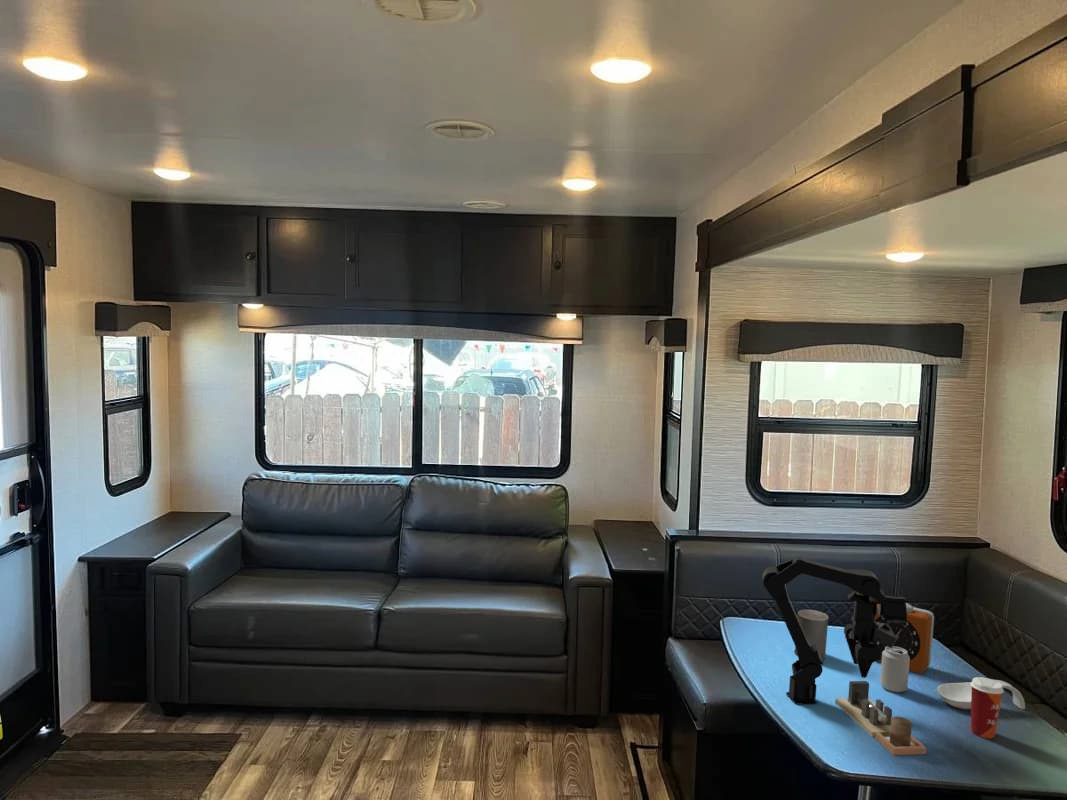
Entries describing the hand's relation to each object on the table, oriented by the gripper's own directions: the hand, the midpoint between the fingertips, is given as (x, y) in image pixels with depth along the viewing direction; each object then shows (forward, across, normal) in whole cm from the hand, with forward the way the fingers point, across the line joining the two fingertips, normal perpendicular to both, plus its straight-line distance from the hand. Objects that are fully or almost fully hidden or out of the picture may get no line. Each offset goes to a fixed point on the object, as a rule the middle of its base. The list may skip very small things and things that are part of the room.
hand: (859, 670), depth 219 cm
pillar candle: (+11, +36, +7) cm, 38 cm away
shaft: (+9, -6, -2) cm, 11 cm away
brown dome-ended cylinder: (+10, -19, -6) cm, 23 cm away
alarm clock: (+11, +37, -20) cm, 44 cm away
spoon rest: (+11, +11, -36) cm, 39 cm away
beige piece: (+11, -6, -2) cm, 13 cm away
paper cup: (+10, -7, -31) cm, 33 cm away
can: (+11, +16, -14) cm, 24 cm away
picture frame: (+11, -19, -6) cm, 23 cm away
